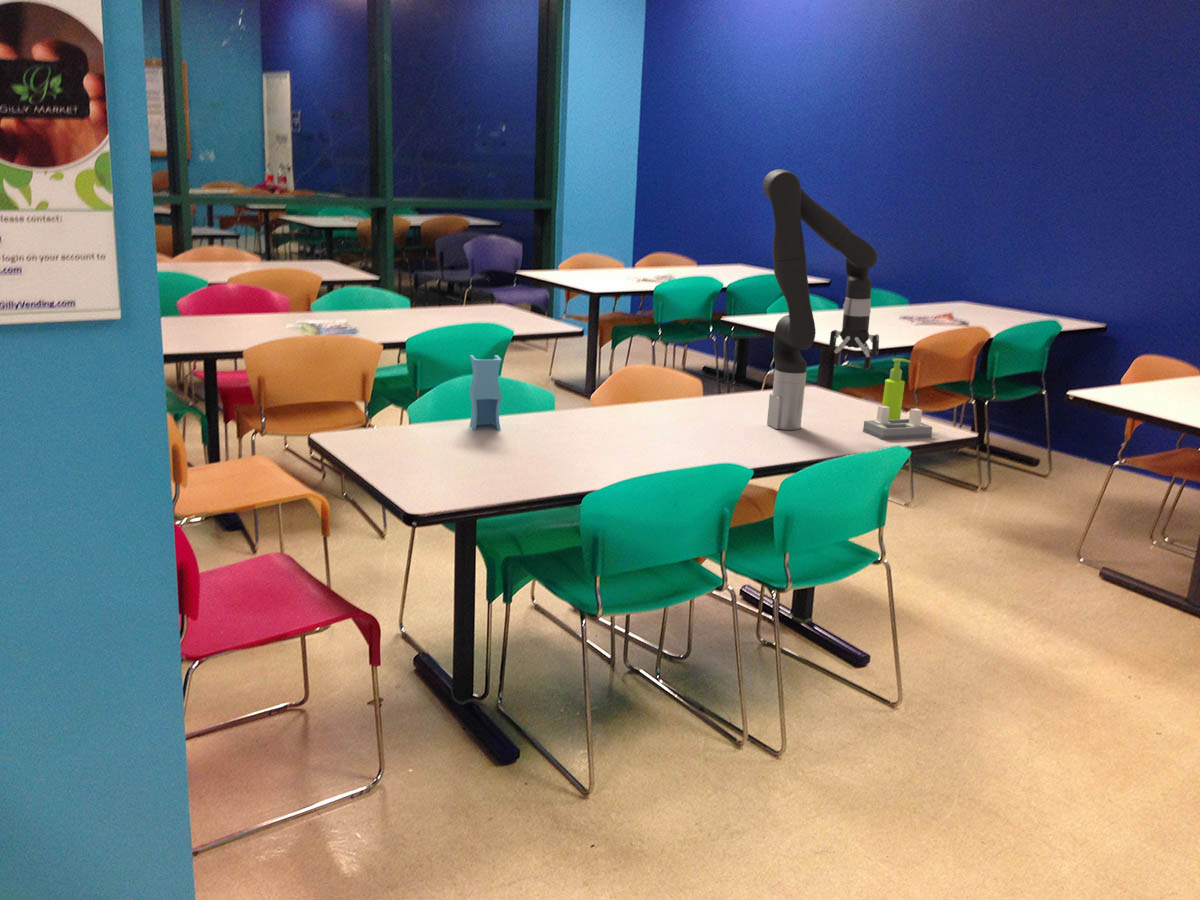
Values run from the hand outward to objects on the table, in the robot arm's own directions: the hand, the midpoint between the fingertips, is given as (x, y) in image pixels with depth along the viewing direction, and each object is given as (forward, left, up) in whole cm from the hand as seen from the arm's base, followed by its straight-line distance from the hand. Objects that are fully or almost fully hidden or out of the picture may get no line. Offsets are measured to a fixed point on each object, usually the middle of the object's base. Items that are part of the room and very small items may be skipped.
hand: (851, 367), depth 305 cm
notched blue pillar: (-106, +20, -19) cm, 110 cm away
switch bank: (+13, -8, -19) cm, 24 cm away
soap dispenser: (+21, +6, -19) cm, 29 cm away
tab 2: (+17, -11, -18) cm, 27 cm away
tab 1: (+9, -6, -18) cm, 20 cm away
